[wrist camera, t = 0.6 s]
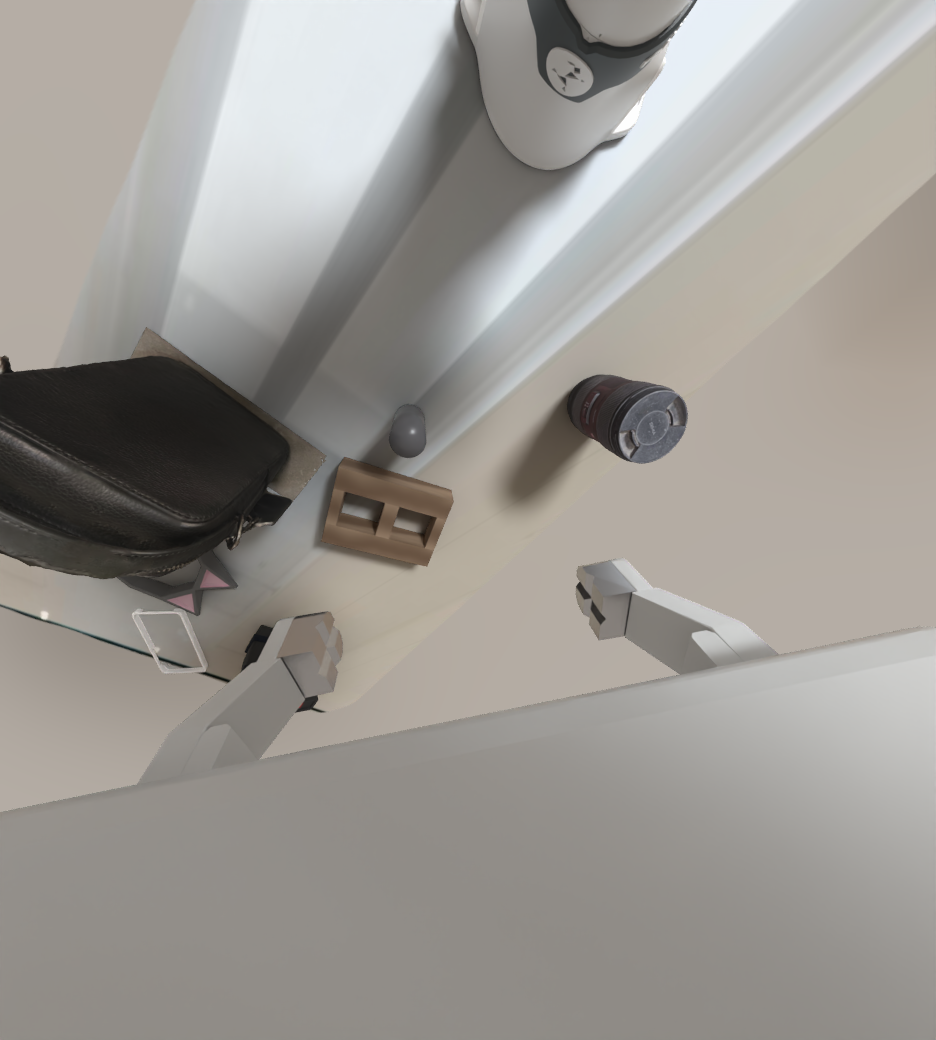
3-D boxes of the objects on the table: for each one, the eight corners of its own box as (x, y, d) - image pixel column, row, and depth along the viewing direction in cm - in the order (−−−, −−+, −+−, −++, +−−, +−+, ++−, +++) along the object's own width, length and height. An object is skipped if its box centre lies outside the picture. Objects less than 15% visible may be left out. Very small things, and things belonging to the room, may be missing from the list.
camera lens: (578, 442, 50) (634, 480, 37) (551, 398, 47) (603, 423, 34) (626, 406, 49) (701, 434, 36) (602, 358, 45) (676, 368, 32)
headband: (153, 510, 46) (243, 583, 51) (170, 502, 48) (254, 572, 54) (91, 562, 48) (184, 627, 54) (110, 552, 51) (197, 614, 56)
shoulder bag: (328, 457, 47) (231, 591, 23) (292, 501, 49) (170, 665, 25) (148, 327, 37) (-350, 318, 13) (115, 390, 40) (-355, 481, 16)
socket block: (344, 456, 47) (338, 466, 44) (451, 490, 52) (453, 501, 48) (327, 529, 52) (320, 543, 49) (425, 554, 57) (426, 568, 53)
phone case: (210, 665, 63) (185, 606, 56) (206, 672, 62) (180, 612, 55) (166, 667, 62) (135, 607, 55) (162, 674, 61) (129, 613, 54)
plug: (399, 399, 44) (395, 416, 36) (428, 410, 46) (430, 429, 37) (391, 428, 46) (385, 451, 37) (419, 438, 47) (419, 462, 38)
